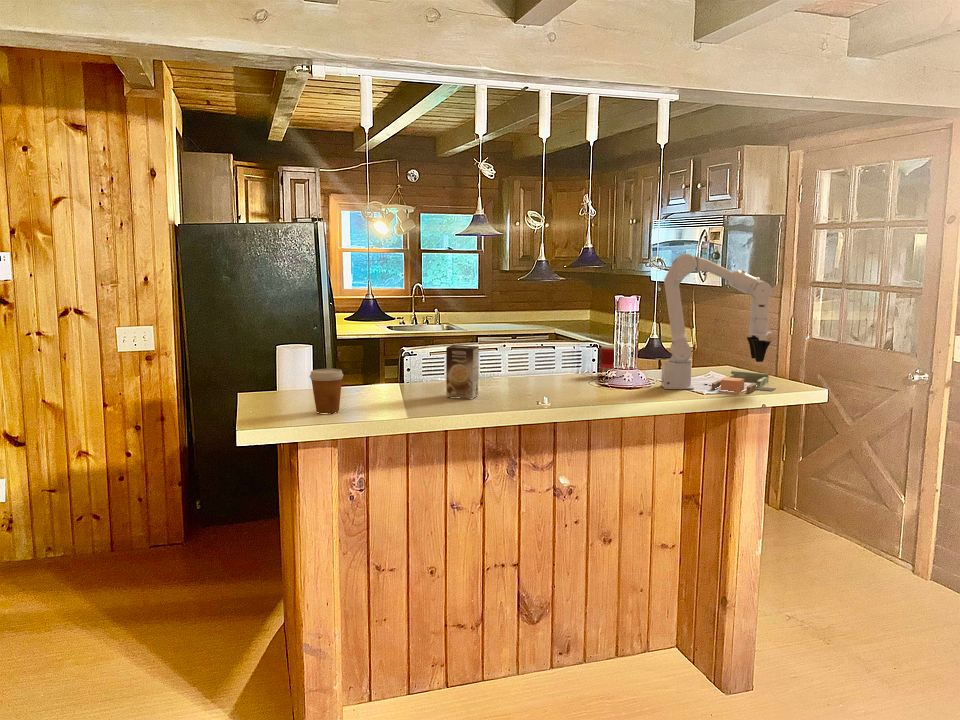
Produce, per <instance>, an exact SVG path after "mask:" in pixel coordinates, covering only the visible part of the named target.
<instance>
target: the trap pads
mask: <svg viewBox="0 0 960 720" xmlns="http://www.w3.org/2000/svg"><path fill="white" fill-rule="evenodd" d="M776 389H777V388H776V387H765V386H762V387H756V390H755V391H764V392H774V391H775V390H776Z"/></svg>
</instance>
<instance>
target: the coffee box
mask: <svg viewBox="0 0 960 720" xmlns="http://www.w3.org/2000/svg"><path fill="white" fill-rule="evenodd" d="M479 350H480V348H479V346H477V345H476V346H475V345H462V344H461V345H460V344H452V345H449V346H447V347H446V350H445V351H446V354H445V355H446V358H445V359H446V363H445V364H446V366H445V367H446V369H445V370H446V373H445V374H446V376H445V377H446V380H445V381H446V383H445V384H446V385H445V387H446V391H445V392H446V394H445V397H446V396H447V397H460V398H474V397H475V396H477V395H478V396H479V372H480V371H479V361H480V360H479V359H480V358H479V356H480V353H479ZM474 399H475V398H474Z"/></svg>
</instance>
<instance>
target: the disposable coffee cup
mask: <svg viewBox="0 0 960 720" xmlns="http://www.w3.org/2000/svg"><path fill="white" fill-rule="evenodd" d="M309 378H310V381H311V387H312V391H313V398H314V403H315V404H314V405H315V411H316V413H317V412H319V413H335V412H338V411H339V412H340V404H341V402H340V401H341V394H342V393H341V391H342V382H343V378H344V373H343V370H342V369H339V368H318V369H314V370H311V371H310V375H309ZM339 412H338V413H339ZM335 414H336V413H335Z"/></svg>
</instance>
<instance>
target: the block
mask: <svg viewBox="0 0 960 720" xmlns="http://www.w3.org/2000/svg"><path fill="white" fill-rule="evenodd" d="M724 377H725V378H724ZM724 377H722V379H720V381H721V387H720V388H719V389H720V390H728V391H734V392H737V393H736V394H741V391H742V390H745V382H746V381H745V379H742V378H731V377H726V376H724ZM742 392H743V391H742Z"/></svg>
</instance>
